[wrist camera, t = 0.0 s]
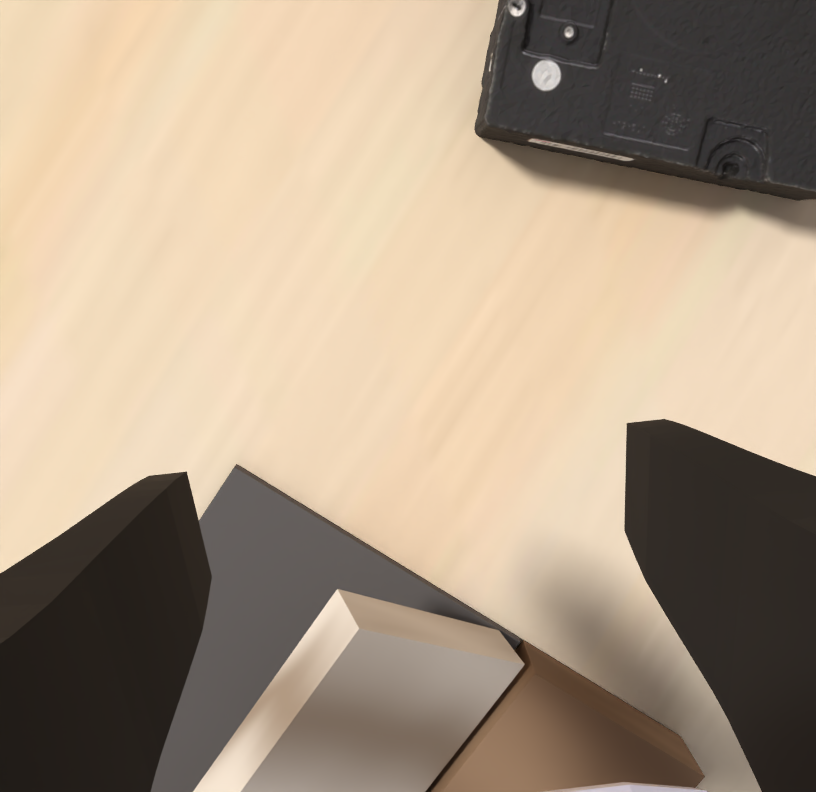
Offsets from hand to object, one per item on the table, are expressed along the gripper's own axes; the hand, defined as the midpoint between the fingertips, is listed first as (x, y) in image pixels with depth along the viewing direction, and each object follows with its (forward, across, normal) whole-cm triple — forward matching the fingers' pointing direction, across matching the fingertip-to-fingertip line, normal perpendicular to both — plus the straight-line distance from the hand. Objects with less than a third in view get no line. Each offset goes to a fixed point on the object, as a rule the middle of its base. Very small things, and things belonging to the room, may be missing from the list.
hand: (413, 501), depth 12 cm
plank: (+7, +3, +11) cm, 13 cm away
